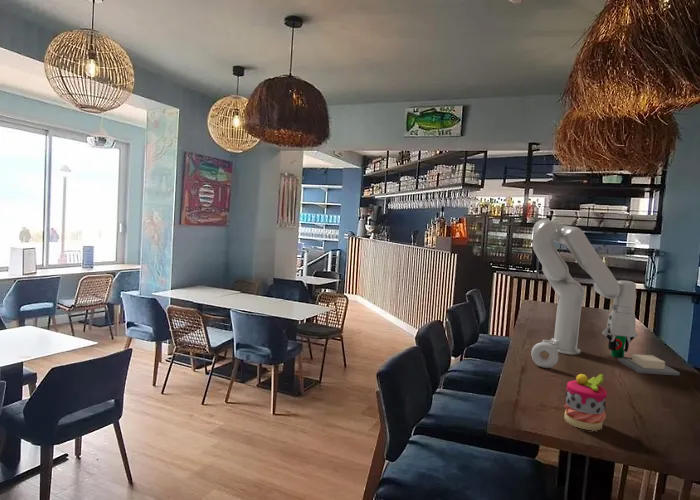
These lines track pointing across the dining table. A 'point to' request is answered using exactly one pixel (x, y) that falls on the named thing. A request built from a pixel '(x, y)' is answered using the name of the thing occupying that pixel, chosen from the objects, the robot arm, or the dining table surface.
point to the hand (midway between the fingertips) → (618, 350)
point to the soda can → (619, 347)
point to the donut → (548, 348)
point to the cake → (585, 402)
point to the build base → (647, 370)
